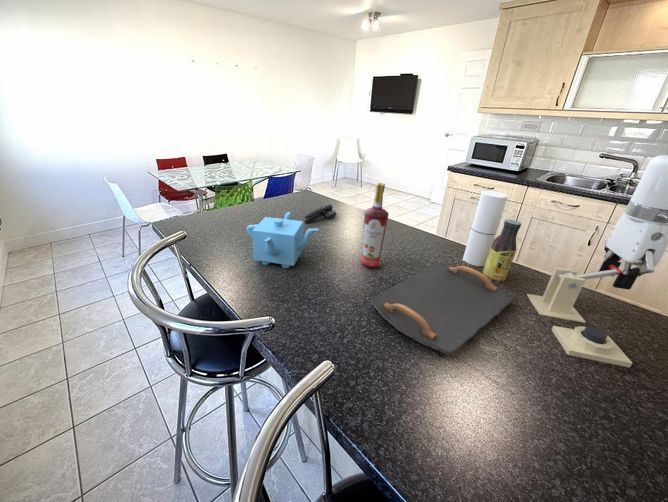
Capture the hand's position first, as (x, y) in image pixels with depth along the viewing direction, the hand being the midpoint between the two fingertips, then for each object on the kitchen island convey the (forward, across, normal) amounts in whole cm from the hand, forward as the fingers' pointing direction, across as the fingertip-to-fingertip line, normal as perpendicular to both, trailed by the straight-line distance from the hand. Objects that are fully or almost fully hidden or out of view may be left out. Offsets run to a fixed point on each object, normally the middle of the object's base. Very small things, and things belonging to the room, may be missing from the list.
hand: (613, 280), depth 73 cm
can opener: (+12, +42, +85) cm, 95 cm away
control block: (+12, -14, +8) cm, 20 cm away
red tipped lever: (+1, 0, +4) cm, 4 cm away
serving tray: (+12, -8, +38) cm, 41 cm away
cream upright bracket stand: (+12, 0, +9) cm, 15 cm away
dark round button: (+8, -14, +8) cm, 18 cm away
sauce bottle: (+12, +12, +21) cm, 27 cm away
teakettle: (+12, +2, +88) cm, 89 cm away
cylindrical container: (+12, +21, +24) cm, 34 cm away
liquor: (+12, +8, +59) cm, 60 cm away
